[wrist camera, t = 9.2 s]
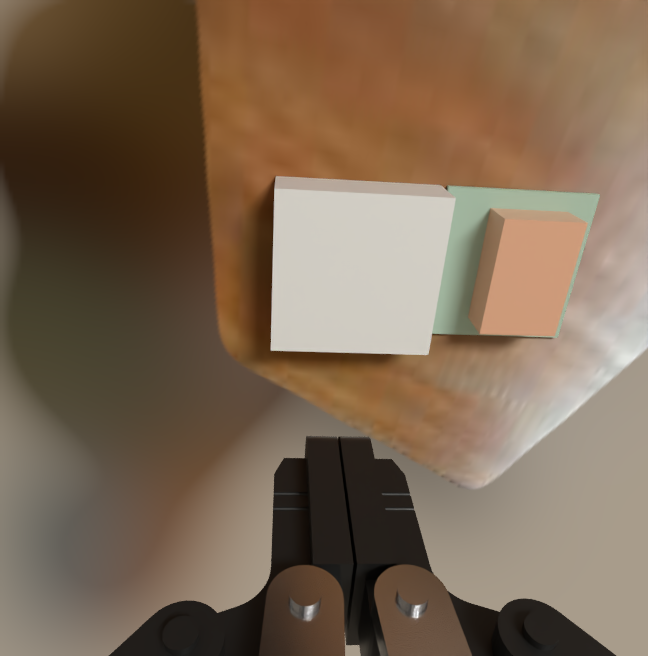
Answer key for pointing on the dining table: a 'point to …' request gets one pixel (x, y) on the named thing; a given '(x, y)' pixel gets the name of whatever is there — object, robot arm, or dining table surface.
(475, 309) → the terracotta tile
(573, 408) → the dining table surface
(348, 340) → the block
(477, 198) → the green mat
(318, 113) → the dining table surface
